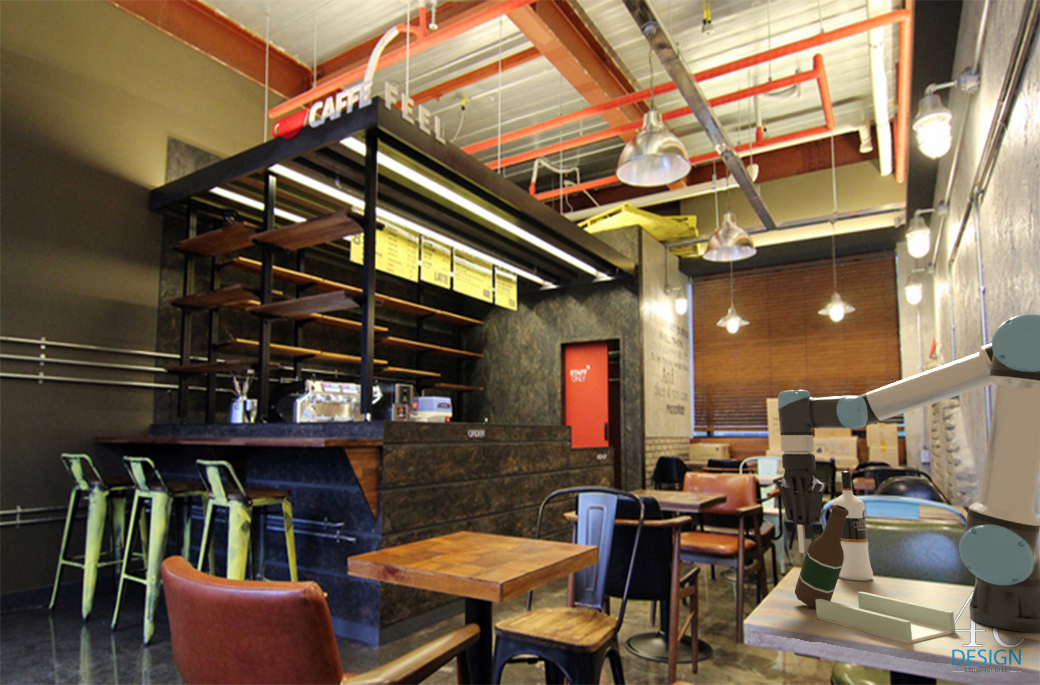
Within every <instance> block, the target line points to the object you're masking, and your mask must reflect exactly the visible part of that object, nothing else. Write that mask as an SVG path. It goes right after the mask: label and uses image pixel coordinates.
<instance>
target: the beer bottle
mask: <svg viewBox="0 0 1040 685" xmlns="http://www.w3.org/2000/svg"><path fill="white" fill-rule="evenodd" d="M830 509H831V511H830V514H829V516H828V519H827V522H826V523H825V526H824V527H823V528H824V529H823V530H822V533H821V534H820V535H819V536H817V537H816V538H813V539H812V540H811V544H810V545H809V548H808V550H807V553H805V557H804V559H803V563H802V565H801V568H800V572H799V575H798V578H797V582H796V584H795V588H794V594H795V596H796V598H797V600H799V601H800V602H801V603H803V604H805V605H806V606H808V607H810V608H814V609H816V599H823V600H827V601H831V602H832V598H833V595H834V592H835V589H836V587H837V586H836V585H837V584H838V580H839V578H840V577H839V574H840V571H841V568H842V565H843V561H844V553H843V549H842V546H841V536H842V532H843V528H844V524H845V520H846V516H847V515H849V511H848V510H847V509H846V508H844V507H842V506H839V505H833V504H832V506H831V508H830Z"/></svg>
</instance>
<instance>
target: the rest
mask: <svg viewBox="0 0 1040 685" xmlns="http://www.w3.org/2000/svg"><path fill="white" fill-rule="evenodd" d="M857 599H858V600H857V601H858V607H855V606H850V605H848V604H843V603H839V602H835V601H832V600H831V601H827V600H823V599H816V608H815V610H816V619H817V620H821V621H824V622H826V623H831V624H835V625H839V626H842V627H845V628H849V629H853V630H856V631H859V632H862V633H867V634H871V635H873V636H874V635H875V636H878V637H882V638H885V639H889V640H891V641H895V642H899V643H902V644H907V645H910V644H915V643H918V642H922V641H927V640H930V639H934V638H938V637H942V636H946V635H947V636H948V635H951V634H955V633H956V626H955V624H956V623H955V617H954V616H955V615H954V611H950V610H946V609H942V608H937V607H933V606H929V605H924V604H919V603H915V602H910V601H906V600H901V599H896V598H893V597H888V596H884V595H880V594H874V593H870V592H864V591H857Z"/></svg>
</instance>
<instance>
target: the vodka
mask: <svg viewBox="0 0 1040 685" xmlns="http://www.w3.org/2000/svg"><path fill="white" fill-rule="evenodd" d="M840 476H841V486H842V487H841V488H842V494H841V495H839V496H838V497H836V498H835V499H834V500H833V503H832V506H833V505H839V506H842V507H844V508H846V509H847V510H848V511H849V515H847V516H846V520H845V524H844V528H843V532H842V536H841V546H842V549H843V553H844V561H843V565H842V568H841V571H840V574H839V577H838V578H840V579H844V580H846V581H847V580H848V581H852V582H853V581H855V582H868V581H870V580H872V579H873V578H874V573H873V572H874V571H873V569H872V567H871V561H870V555H869V542H868V533H867V519H866V509H865V508H866V505H865V502H864V501H863V500H861V498H860V497H858V496H856V495H854V492H853V483H852V473H851V471H847V470H843V471H841V472H840Z"/></svg>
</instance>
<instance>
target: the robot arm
mask: <svg viewBox="0 0 1040 685" xmlns="http://www.w3.org/2000/svg"><path fill="white" fill-rule="evenodd" d="M994 384H995V386H996V391H995V399H994V404H993V411H992V416H991V422H990V428H989V436H988V440H987V447H986V454H985V458H984V459H985V460H984V465H983V466H984V467H983V472H982V478H981V484H980V485H981V486H980V489H979V490H980V492H979V497H978V501H976V502H974V503H972V504H970V505H969V506H968V508H967V515H966V519H965V520H966V521H965V526H964V532H963V534H962V535H961V537H960V539H959V542H958V543H959V544H958V550H959V557H960V558H961V560H962V562H963V565H964V566H965V568H967V569H968V570H969V572H970V573H971V574H972V575H974V576H975V583H974V588H973V592H972V595H971V600H970V603H969V606H968V608H969V616H970V619H971V620H973V621H974V622H976V623H979V624H982V625H984V626H985V625H986V626H988V627H993V628H998V629H1001V630H1002V629H1003V630H1006V631H1007V630H1008V631H1013V632H1014V631H1015V632H1020V633H1021V632H1023V633H1034V634H1040V551H1039V544H1038V541H1039V536H1040V535H1039V534H1040V521H1039V520H1038V519H1037V518H1036V517H1035V515H1034V513H1033V508H1034V501H1035V496H1036V489H1037V483H1038V477H1039V472H1040V471H1039V470H1040V314H1035V313H1032V314H1031V313H1028V314H1027V313H1026V314H1019V315H1016V316H1014V317H1013V316H1012V317H1011V318H1009V319H1007V320H1005V321H1003V322H1002V323H1001V324H999V326H998V327H997V329H996V330H995V332H994V333H993V335H992V338H991V343H988V344H984V345H982V346H981V348H980V349H979V351H978V352H976V353H974V354H971V355H968V356H965V357H962V358H960V359H958V360H957V359H956V360H954V361H951V362H949V363H946V364H944V365H940V366H938V367H935V368H931V369H928V370H926V371H924V372H921V373H918V374H915V375H912V376H909V377H907V378H904V379H901V380H899V381H896V382H893V383H890V384H887V385H885V386H882V387H879V388H876V389H874V390H870V391H868V392H865V393H862V394H860V395H841V396H826V397H825V396H824V397H812V396H811V392H810V391H809V390H805V389H797V390H795V389H794V390H791V389H790V390H783V391H781V392H779V393H778V396H777V402H778V404H777V405H778V406H777V411H778V419H779V420H778V422H779V429H780V430H779V431H780V432H779V434H780V449H781V450H780V451H781V452H782V455H781V462H782V463H781V464H782V468H783V470H784V474H783V477H782V478H781V480H776V482H775V483H776V486H777V488H778V489H779V493H780V495H781V496H780V497H781V500H782V504H783V507H784V511H785V515H786V519H787V520H788V521H791V522H793V524H794V529H795V536H796V538H798V540H797V541H798V552H799V554H800V553H801V554H806V553H807V550H808V548H809V545H810V544H811V543H812V540H814V532H813V530H814V528H813V525H814V524H818V523H820V521H821V513H822V506H823V498H824V492H825V490H826V488H827V483H826V482H821V481H820V480H819V479H818V477H817V474H816V472H815V470H816V468H817V464H816V456H815V454H814V453H813V452H815V444H814V443H815V442H814V429H849V430H862V429H865V428H867V427H868V426H869V425H872V424H875V423H878V422H880V421H883V420H887V419H890V418H894V417H895V416H899V415H902V414H906V413H908V412H913V411H914V410H917V409H920V408H923V407H926V406H931V405H933V404H936V403H939V402H942V401H945V400H948V399H951V398H954V397H957V396H960V395H963V394H967V393H969V392H972V391H975V390H978V389H982V388H984V387H988V386H991V385H994Z"/></svg>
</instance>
